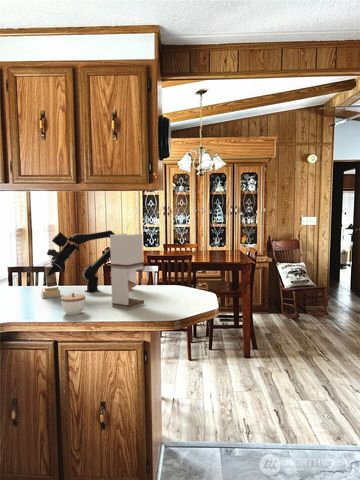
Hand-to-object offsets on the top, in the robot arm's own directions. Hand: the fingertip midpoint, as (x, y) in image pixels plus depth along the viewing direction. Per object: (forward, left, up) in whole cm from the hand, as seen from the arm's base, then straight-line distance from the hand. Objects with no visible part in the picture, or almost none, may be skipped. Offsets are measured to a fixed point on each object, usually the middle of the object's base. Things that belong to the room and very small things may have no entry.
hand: (48, 274), depth 204 cm
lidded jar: (-44, +10, -12) cm, 47 cm away
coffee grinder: (-52, -15, -12) cm, 56 cm away
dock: (-1, -1, -12) cm, 12 cm away
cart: (-1, -2, -6) cm, 7 cm away
